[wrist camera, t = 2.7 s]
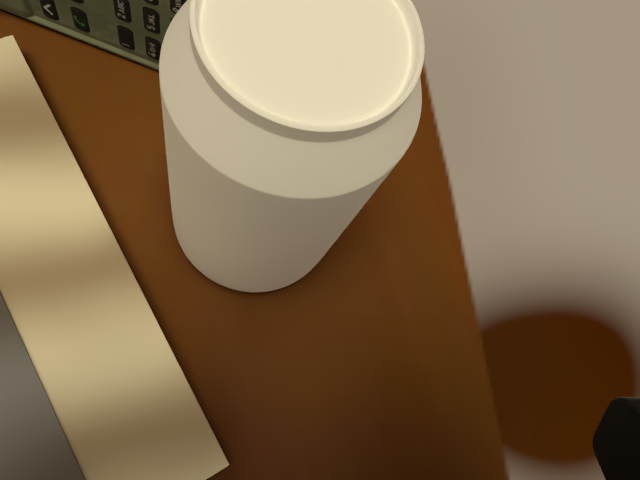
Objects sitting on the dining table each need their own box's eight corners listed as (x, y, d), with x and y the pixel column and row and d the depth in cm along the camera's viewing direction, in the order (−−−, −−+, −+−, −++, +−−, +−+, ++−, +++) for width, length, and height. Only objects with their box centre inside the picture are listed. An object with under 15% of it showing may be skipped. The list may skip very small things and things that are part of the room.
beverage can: (149, 181, 22) (106, -69, 11) (288, 135, 24) (374, -114, 13) (209, 324, 21) (231, 207, 10) (351, 263, 23) (505, 109, 12)
